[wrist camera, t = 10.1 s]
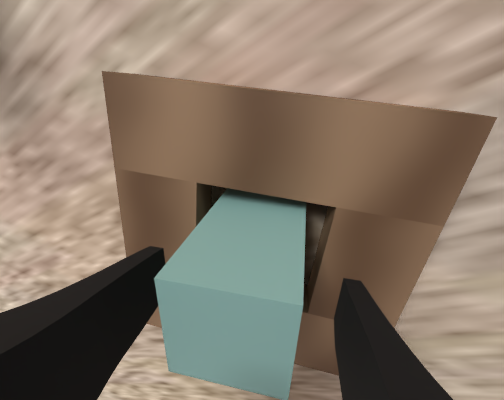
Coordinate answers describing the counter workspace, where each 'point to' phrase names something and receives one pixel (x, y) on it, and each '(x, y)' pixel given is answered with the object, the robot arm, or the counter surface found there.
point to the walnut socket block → (294, 179)
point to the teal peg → (237, 294)
